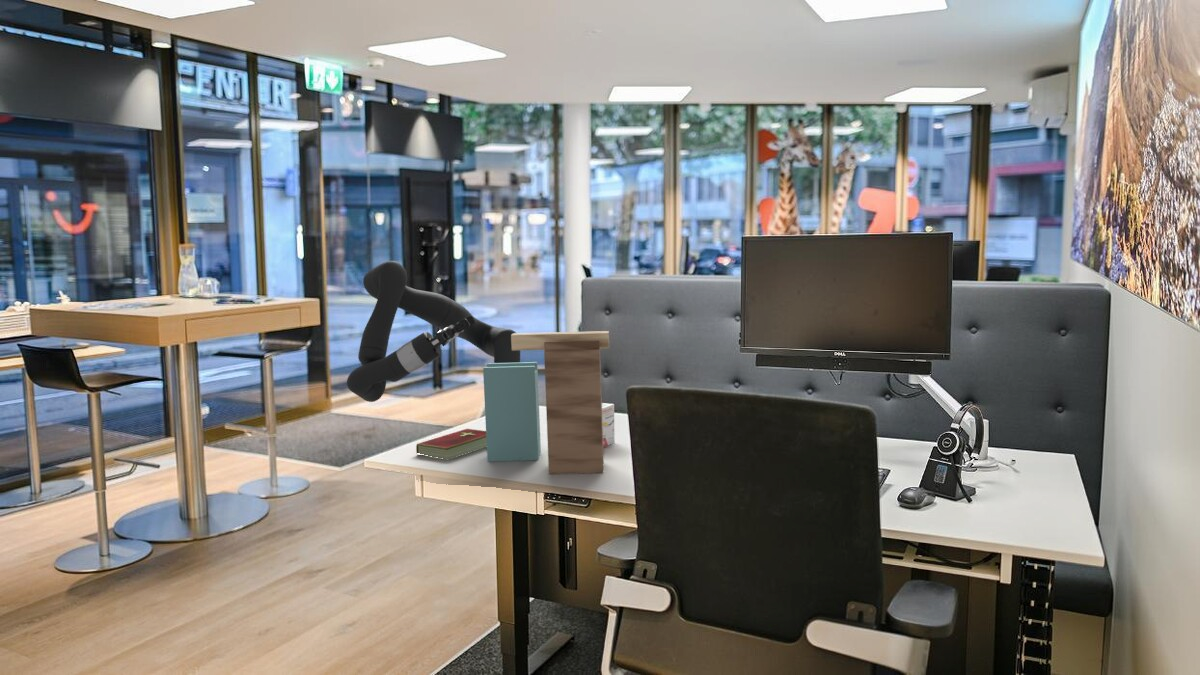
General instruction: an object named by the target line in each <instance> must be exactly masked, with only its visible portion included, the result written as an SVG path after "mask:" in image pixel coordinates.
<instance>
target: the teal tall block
mask: <svg viewBox="0 0 1200 675" xmlns="http://www.w3.org/2000/svg"><path fill="white" fill-rule="evenodd" d="M538 370H539V369H538V361H530V362H529V361H528V362H526V361H525V362H524V361H522V362H521V361H520V363H494V362H489V363H486V366H483V368H482V371H483V372H482V374H483V376H482V377H483V395H484V398H483V399H484V415H485V416H484V417H485V431H486V441H487V447H486V455H487V456H486V457H487V458H486V459H487V462H513V461H517V462H518V461H519V462H520V461H539V460H538V459H540V457H539V456H541V454H540V453H542V450H541V447H542V446H541V421H540V420H541V419H540V402H539V401H540V400H539V399H540V397H539V396H540V394H539V375H538V372H539V371H538Z"/></svg>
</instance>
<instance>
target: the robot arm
mask: <svg viewBox="0 0 1200 675" xmlns="http://www.w3.org/2000/svg"><path fill="white" fill-rule="evenodd" d="M362 281H363V287H364V289H365V290H366V292H367V293H368V294H369V295H370V296H371V297H372V298H374V299H376V302H375V306H374V308H373V310H372V313H371V314H370V315H371V316H370V317H369V319H368V321H367V322H366V325H365V328H364V330H363V332H362V336H361V339H360V346H359V350H358V362H360V364H361V365H360V366H358V367H356V368H355V369H353V370H352V371H351V372H350V373H349V375H348V376H347V379H346V386H347V388H348V390H349V391H350V392H352V393H353V394H355V395H356V396H358V397H359V398H361V399H363V400H364V401H367V402H369V403H374V402H377V401H379V400H380V399H381V398H382V396H383V395H384V393H385V391H386V386H387V381H389V382H392V383H395V382H398V381H401V380H402V379H403V378H405V377H407V376H408V375H411V374H412V373H414V372H416V371H419V370H420V369H421V368H423V367H425V366H427V365H429V364H430V363H432V362H433V361H436V359H438V358H440V357H441V356H442V350H441V347H440V345H442V347H444V346H447V345H448V344H449V343H451V341H453V340H455V339H456V338H457V337H458V338H460V339H462V340H465V341H467V342H469V343H470V344H471V345H474V346H475V347H476V348H478V349H479V350H481V352H483V353H484V354H487V356H491V357H493V363H520V362H521V350H516V351H512V345H511V335H512V334H513V333H517V332H516V331H515V330H514V329H511V328H505V327H497V326H493V325H491V324H489V323H485V322H484V321H482V320H480V319H478V318H477V317H475V316H473V315H472V313H470V311H469V310H468V309H467V308H466V307H465V306H463V305H462V304H460V303H459V302H457V301H455V300H453V299H451V298H450V297H448V296H445V295H444V294H441V293H438V292H437V293H436V292H432V291H427V290H426V291H425V290H420V289H415V288H412V287H410V286H407V284H408V283H407V282H408V274H407V270H406V269H405V267H404V266H403V265H402V264H401V263H400V262H398V261H397V260H386V261H385V262H382V263H380V264H378V265H377V266H375V267H373V268H371V269H370V270H369V271H367V273H365V274H364V277H363V280H362ZM398 308H399V309H401V310H403V311H405V312H408V313H409V314H411V315H413V316H415V317H417V318H418V319H422V321H424V322H427V323H428V324H430V325H432V326H434V327H435V328H438V329H440V330H439V331H437V332H435V336H432V334H431V333H430V332H428V331H424V332H422V333H420V334H419V335H417V336H416V337H413V338H412V339H411V340H408V341H407V342H406V343H404V344H403V345H401V347H399V348H398V349H397V350H395V351H393V352H391V353H390V354H388V355H387V351H388V346H389V340H390V335H391V332H392V328H393V324H394V320H395V317H396V315H397V311H398Z"/></svg>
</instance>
